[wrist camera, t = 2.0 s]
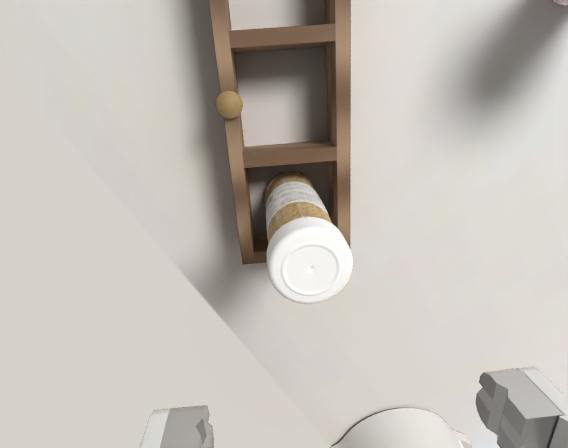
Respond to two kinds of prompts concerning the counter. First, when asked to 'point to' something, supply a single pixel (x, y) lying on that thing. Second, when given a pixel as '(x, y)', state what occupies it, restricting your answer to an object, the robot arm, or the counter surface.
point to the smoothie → (561, 2)
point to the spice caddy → (333, 150)
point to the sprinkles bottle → (303, 242)
